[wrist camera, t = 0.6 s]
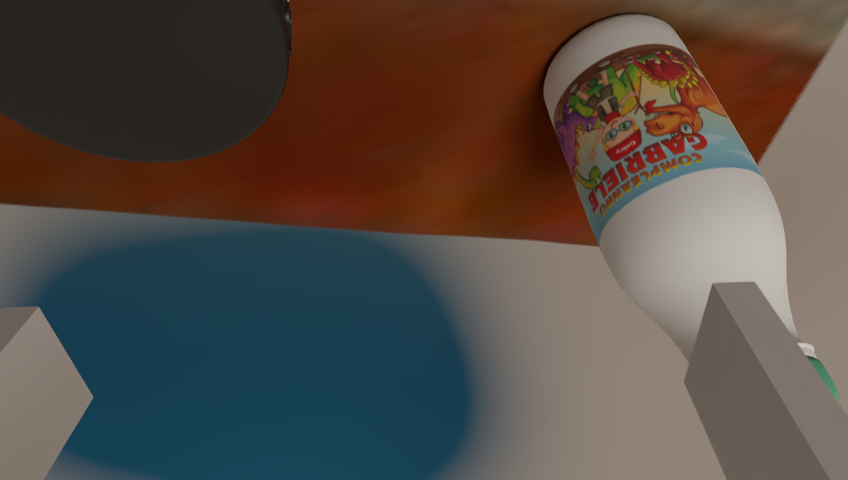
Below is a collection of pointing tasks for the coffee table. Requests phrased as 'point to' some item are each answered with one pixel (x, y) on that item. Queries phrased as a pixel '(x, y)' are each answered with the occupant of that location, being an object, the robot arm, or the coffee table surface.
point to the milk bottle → (665, 176)
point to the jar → (143, 73)
